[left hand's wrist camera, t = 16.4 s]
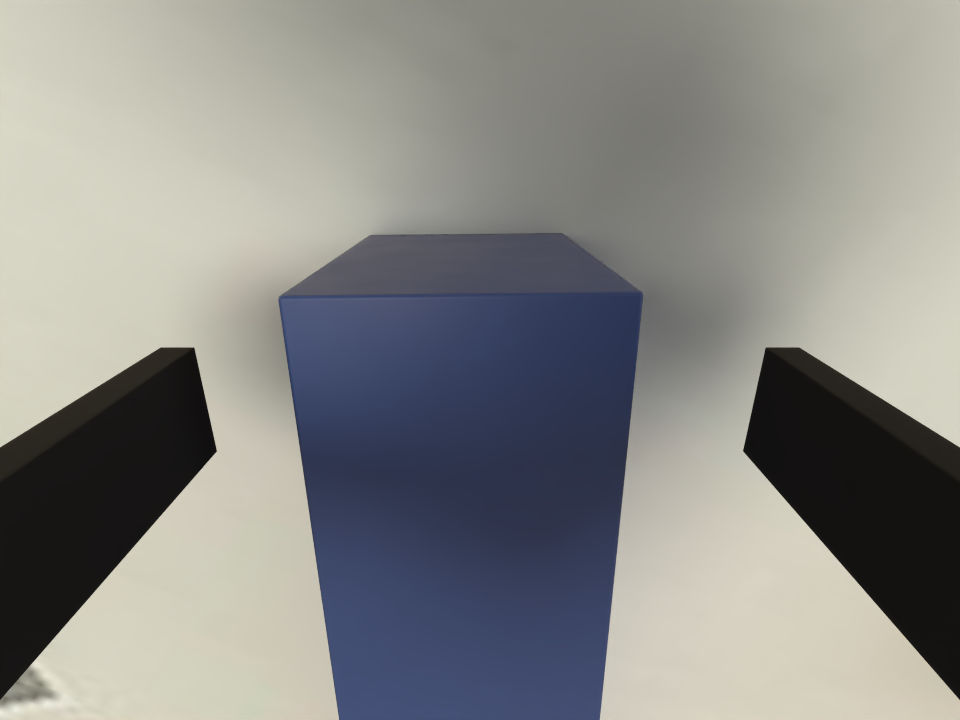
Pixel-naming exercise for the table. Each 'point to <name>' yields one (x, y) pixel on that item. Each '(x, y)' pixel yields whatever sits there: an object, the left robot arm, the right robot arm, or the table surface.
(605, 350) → the box
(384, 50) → the table surface
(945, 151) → the table surface
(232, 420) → the table surface
